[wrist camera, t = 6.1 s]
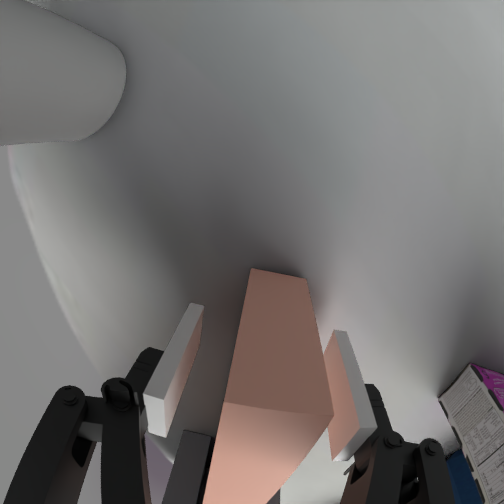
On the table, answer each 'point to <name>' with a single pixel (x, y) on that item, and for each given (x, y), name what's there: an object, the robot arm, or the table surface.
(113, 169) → the table surface
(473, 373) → the candy bar box
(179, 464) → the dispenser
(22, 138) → the beverage can
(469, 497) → the radio
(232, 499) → the tall pink prism
